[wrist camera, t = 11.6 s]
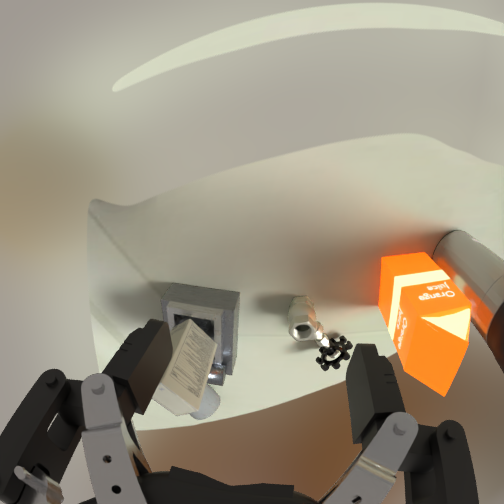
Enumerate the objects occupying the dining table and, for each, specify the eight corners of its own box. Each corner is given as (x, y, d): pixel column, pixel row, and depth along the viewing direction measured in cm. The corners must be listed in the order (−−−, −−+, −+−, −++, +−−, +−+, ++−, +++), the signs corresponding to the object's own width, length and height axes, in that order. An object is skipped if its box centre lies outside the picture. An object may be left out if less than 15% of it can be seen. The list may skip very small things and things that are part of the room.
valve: (276, 306, 42) (317, 350, 45) (274, 333, 36) (319, 377, 39) (311, 284, 40) (349, 332, 43) (314, 310, 34) (356, 359, 37)
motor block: (239, 292, 42) (229, 327, 34) (236, 355, 48) (228, 391, 40) (172, 282, 43) (151, 313, 35) (179, 345, 49) (164, 377, 41)
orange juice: (425, 251, 36) (496, 332, 17) (418, 300, 39) (469, 388, 21) (380, 256, 37) (436, 350, 19) (377, 306, 40) (414, 406, 22)
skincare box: (171, 328, 38) (137, 388, 27) (190, 316, 37) (158, 381, 26) (199, 355, 40) (175, 418, 29) (220, 346, 39) (198, 413, 28)
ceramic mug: (200, 367, 50) (189, 396, 44) (224, 390, 53) (216, 418, 46) (165, 376, 54) (153, 402, 47) (189, 398, 56) (179, 423, 49)
